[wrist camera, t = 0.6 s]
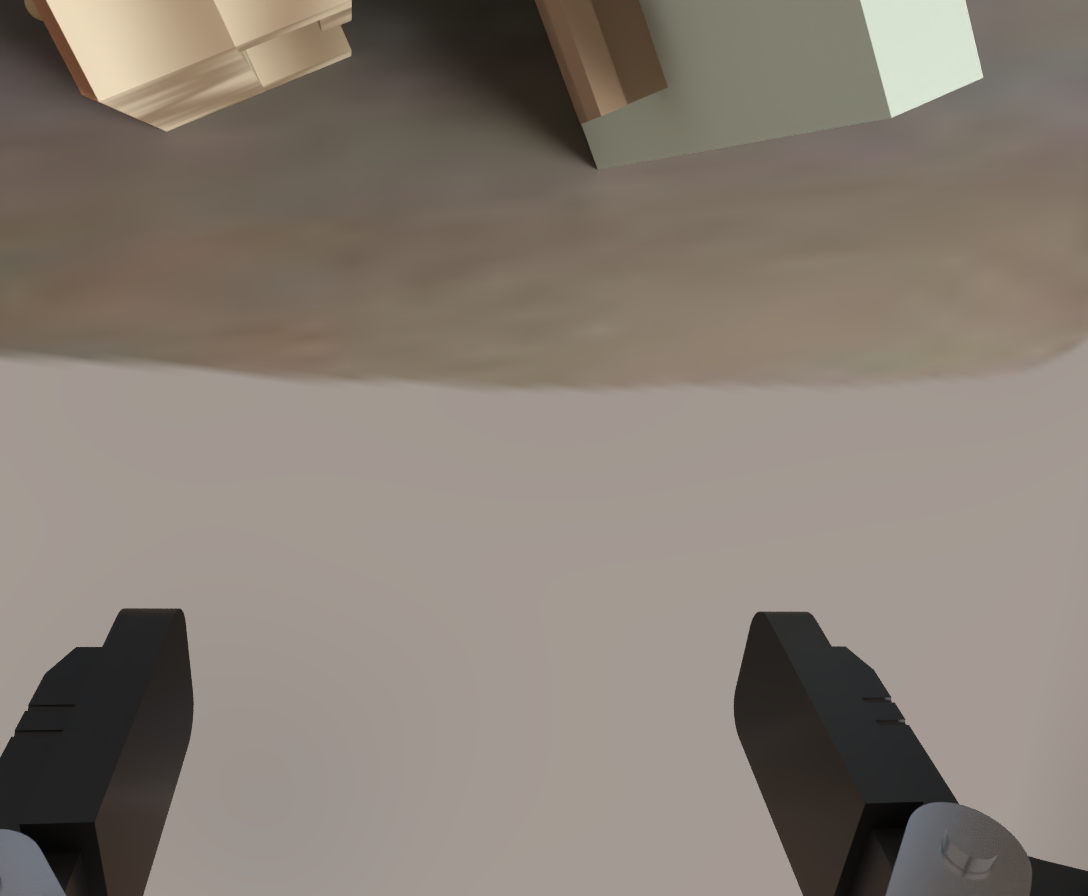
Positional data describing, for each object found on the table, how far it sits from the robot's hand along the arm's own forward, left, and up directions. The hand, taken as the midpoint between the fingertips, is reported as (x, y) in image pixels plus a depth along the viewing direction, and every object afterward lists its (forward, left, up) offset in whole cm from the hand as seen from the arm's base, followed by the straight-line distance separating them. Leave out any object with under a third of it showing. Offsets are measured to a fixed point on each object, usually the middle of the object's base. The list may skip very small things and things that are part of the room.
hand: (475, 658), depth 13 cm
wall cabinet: (-14, -1, -27) cm, 30 cm away
